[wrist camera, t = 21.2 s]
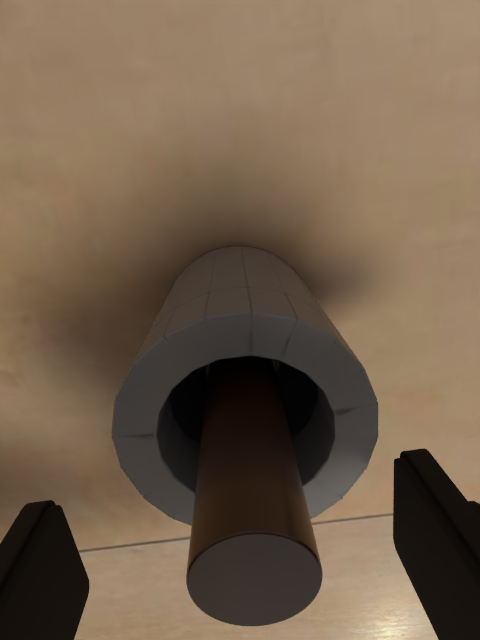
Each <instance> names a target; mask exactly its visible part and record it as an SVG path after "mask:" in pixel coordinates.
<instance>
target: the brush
mask: <svg viewBox="0 0 480 640" xmlns="http://www.w3.org/2000/svg"><path fill="white" fill-rule="evenodd" d="M279 366H280V360H276V359H270V358H264V357H257V356H243V357H235V358H227V359H219V360H216V361H214V362H212V363H210V364H207V365H205V366H203V367H202V370H203V372H204V374H205V376H206V378H207V379H208V380H207V389H206V398H205V408H204V417H203V426H202V436H201V445H200V454H199V463H198V473H197V482H196V491H195V501H194V510H193V519H192V528H191V538H190V547H189V556H188V565H187V575H186V583H187V588H188V591H189V594H190V596H191V598H192V600H193V602H194V603H195V604H196V605H197V606H198V607H199V608H200V609H201V610H202V611H203V612H205V613H206V614H207V615H209V616H211V617H213V618H215V619H217V620H219V621H222V622H225V623H229V624H234V625H240V626H263V625H269V624H273V623H278V622H281V621H284V620H286V619H288V618H291V617H293V616H295V615H296V614H298V613H300V612H301V611H302V610H304V609H305V608H306V607H307V606H308V605H309V604H310V603H311V602H312V601H313V600H314V599H315V597H316V595H317V594H318V592H319V589H320V587H321V582H322V566H321V562H320V558H319V554H318V549H317V545H316V541H315V537H314V533H313V528H312V524H311V520H310V516H309V511H308V507H307V503H306V499H305V495H304V490H303V486H302V482H301V478H300V474H299V469H298V465H297V461H296V457H295V453H294V448H293V444H292V440H291V436H290V431H289V427H288V423H287V419H286V415H285V410H284V406H283V402H282V398H281V394H280V389H279V385H278V381H277V377H276V374H277V372H278V370H279Z"/></svg>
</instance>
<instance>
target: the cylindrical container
mask: <svg viewBox="0 0 480 640" xmlns="http://www.w3.org/2000/svg"><path fill="white" fill-rule="evenodd" d="M243 356H257V357H264V358H270V359H276V360H280V366H279V370H278V372H277V374H276V377H277V381H278V385H279V389H280V394H281V398H282V402H283V406H284V410H285V415H286V419H287V423H288V427H289V431H290V436H291V440H292V444H293V448H294V453H295V457H296V461H297V465H298V469H299V474H300V478H301V482H302V486H303V490H304V495H305V499H306V503H307V507H308V511H309V516H310V519H312V518H313V517H314V518H315V517H316V516H318V515H319V514H321V513H322V512H323V511H325V510H326V509H328V508H329V507H331V506H332V505H334V504H335V503H336V502H338V501H339V500H341V499H342V498H343V496H344V495H345V494H346V493H347V492H348V491H349V489H350V488H351V487H352V486H353V484H354V483H355V482H356V481H357V480H358V478H359V477H360V476H361V475H362V473H363V472H364V470H366V468H367V466H368V463H369V460H370V458H371V455H372V452H373V450H374V447H375V444H376V442H377V437H378V402H377V398H376V396H375V393H374V391H373V388H372V386H371V383H370V381H369V378H368V376H367V373H366V371H365V369H364V367H363V366H362V364H361V363H360V361H359V360H358V359H357V357H356V356H355V354H354V353H353V352H352V350H351V349H350V347H349V346H348V344H347V343H346V342H345V340H344V339H343V337H342V336H341V335H340V333H339V332H338V330H337V329H336V327H335V326H334V325H333V323H332V322H331V320H330V319H329V318H328V316H327V315H326V313H325V312H324V310H323V309H322V308H321V306H320V305H319V303H318V302H317V301H316V299H315V298H314V296H313V295H312V294H311V292H310V291H309V289H308V288H307V287H306V285H305V284H304V282H303V281H302V280H301V278H300V277H299V276H298V275H297V274H296V273H295V272H294V270H293V269H292V268H291V267H290V266H289V265H288V264H286V263H285V262H284V261H283V260H281V259H280V258H278V257H277V256H275V255H273V254H271V253H269V252H267V251H264V250H261V249H257V248H252V247H245V246H233V247H225V248H220V249H217V250H214V251H211V252H208V253H206V254H204V255H202V256H200V257H199V258H198V259H196V260H195V261H193V262H192V263H191V264H190V265H189V266H187V267H186V268H185V269H184V271H183V272H182V273H181V274H180V275H179V276H178V278H177V279H176V281H175V283H174V285H173V287H172V288H171V290H170V292H169V294H168V296H167V298H166V300H165V302H164V304H163V306H162V308H161V310H160V311H159V313H158V315H157V317H156V319H155V321H154V323H153V325H152V327H151V329H150V331H149V333H148V334H147V336H146V338H145V340H144V342H143V344H142V346H141V348H140V350H139V352H138V354H137V355H136V357H135V359H134V361H133V363H132V365H131V367H130V369H129V371H128V373H127V375H126V377H125V379H124V381H123V383H122V385H121V387H120V389H119V391H118V393H117V395H116V397H115V401H114V411H113V423H112V439H113V442H114V446H115V449H116V452H117V456H118V459H119V462H120V466H121V468H122V469H123V471H124V472H125V474H126V475H127V476H128V478H129V479H130V480H131V482H132V483H133V484H134V486H135V487H136V489H137V490H138V491H139V493H140V494H141V495H142V496H143V498H144V499H146V500H147V501H148V502H150V503H151V504H152V505H154V506H155V507H157V508H158V509H159V510H161V511H162V512H163V513H165V514H166V515H168V516H169V517H172V518H173V519H175V520H178V521H181V522H183V523H186V524H189V525H191V526H192V519H193V510H194V501H195V491H196V482H197V473H198V463H199V454H200V445H201V436H202V426H203V417H204V408H205V398H206V389H207V380H208V379H207V378H206V376H205V374H204V372H203V370H202V367H203V366H205V365H207V364H210V363H212V362H214V361H216V360H219V359H227V358H235V357H243Z"/></svg>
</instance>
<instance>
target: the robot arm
mask: <svg viewBox="0 0 480 640" xmlns="http://www.w3.org/2000/svg"><path fill="white" fill-rule="evenodd" d="M393 539H394V544H395V548H396V551H397V553H398V555H399V558H400V560H401V562H402V564H403V566H404V568H405V570H406V572H407V574H408V576H409V578H410V580H411V583H412V585H413V587H414V589H415V591H416V593H417V595H418V597H419V599H420V601H421V603H422V606H423V608H424V610H425V612H426V614H427V616H428V618H429V620H430V622H431V624H432V626H433V628H434V631H435V633H436V635H437V637H438V639H439V640H480V504H478V503H477V502H475V501H467V500H466V499H465V497H464V496H463V495H462V493H461V492H460V491H459V490H458V488H457V487H456V486H455V484H454V483H453V482H452V481H451V479H450V478H449V477H448V475H447V474H446V473H445V472H444V470H443V469H442V468H441V466H440V465H439V464H438V463H437V461H436V460H435V459H434V458H433V456H432V455H431V454H430V452H429V451H428V450H427V449H417V450H410V451H403V452H401V454H400V458H397V459H395V460H394V514H393ZM88 594H89V579H88V576H87V573H86V571H85V568H84V565H83V563H82V560H81V557H80V555H79V552H78V549H77V547H76V544H75V541H74V539H73V536H72V533H71V531H70V528H69V525H68V523H67V520H66V517H65V515H64V512H63V509H62V507H61V506H60V505H56V504H55V502H54V501H52V500H47V501H40V502H33V503H28V504H26V505H25V506H24V507H23V508H22V510H21V511H20V513H19V515H18V516H17V518H16V519H15V521H14V523H13V524H12V526H11V528H10V529H9V531H8V532H7V534H6V536H5V537H4V539H3V541H2V542H1V544H0V640H74V637H75V634H76V631H77V628H78V625H79V622H80V619H81V616H82V613H83V610H84V607H85V604H86V601H87V597H88Z"/></svg>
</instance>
